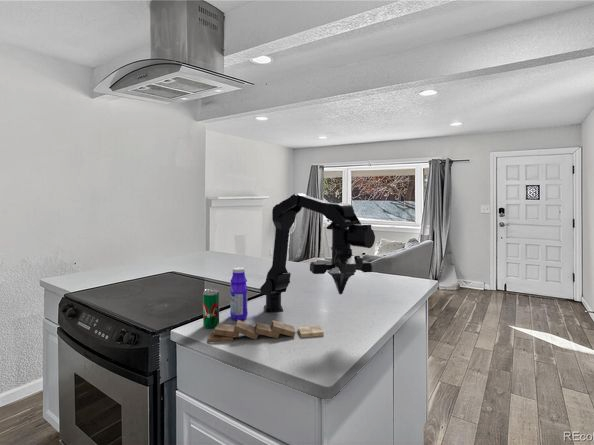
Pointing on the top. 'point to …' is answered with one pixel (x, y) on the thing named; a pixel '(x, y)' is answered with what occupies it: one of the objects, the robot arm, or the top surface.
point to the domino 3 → (245, 329)
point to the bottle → (238, 294)
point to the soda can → (210, 308)
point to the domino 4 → (265, 330)
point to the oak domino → (310, 331)
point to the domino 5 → (283, 328)
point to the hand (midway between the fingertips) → (340, 294)
